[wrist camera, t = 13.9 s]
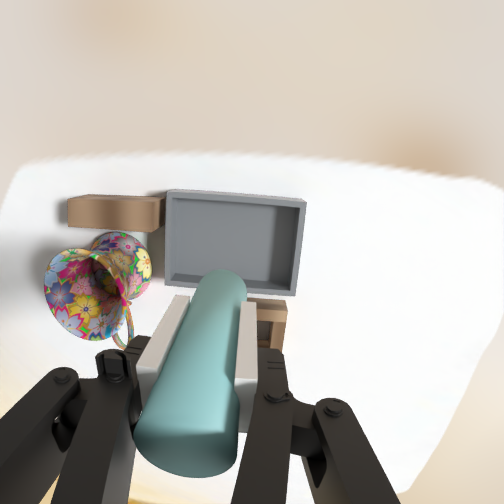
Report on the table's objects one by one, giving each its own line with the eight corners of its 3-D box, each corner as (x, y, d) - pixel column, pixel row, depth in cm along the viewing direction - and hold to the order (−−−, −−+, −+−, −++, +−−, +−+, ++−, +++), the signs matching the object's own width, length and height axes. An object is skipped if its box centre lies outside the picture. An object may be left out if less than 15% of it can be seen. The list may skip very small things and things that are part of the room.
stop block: (88, 219, 36) (68, 226, 31) (88, 194, 35) (67, 199, 30) (164, 223, 36) (151, 232, 31) (165, 197, 35) (152, 202, 30)
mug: (77, 246, 37) (29, 272, 26) (135, 213, 36) (93, 231, 25) (122, 327, 39) (89, 372, 29) (181, 303, 38) (158, 348, 28)
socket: (223, 346, 40) (221, 359, 37) (226, 295, 38) (223, 306, 35) (278, 350, 40) (279, 363, 37) (285, 300, 38) (287, 310, 35)
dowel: (197, 313, 21) (141, 469, 9) (198, 267, 20) (125, 405, 8) (245, 317, 21) (235, 482, 9) (248, 271, 20) (239, 420, 8)
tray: (172, 274, 37) (164, 285, 34) (174, 189, 35) (166, 191, 32) (291, 284, 38) (295, 296, 34) (301, 198, 35) (306, 202, 32)
